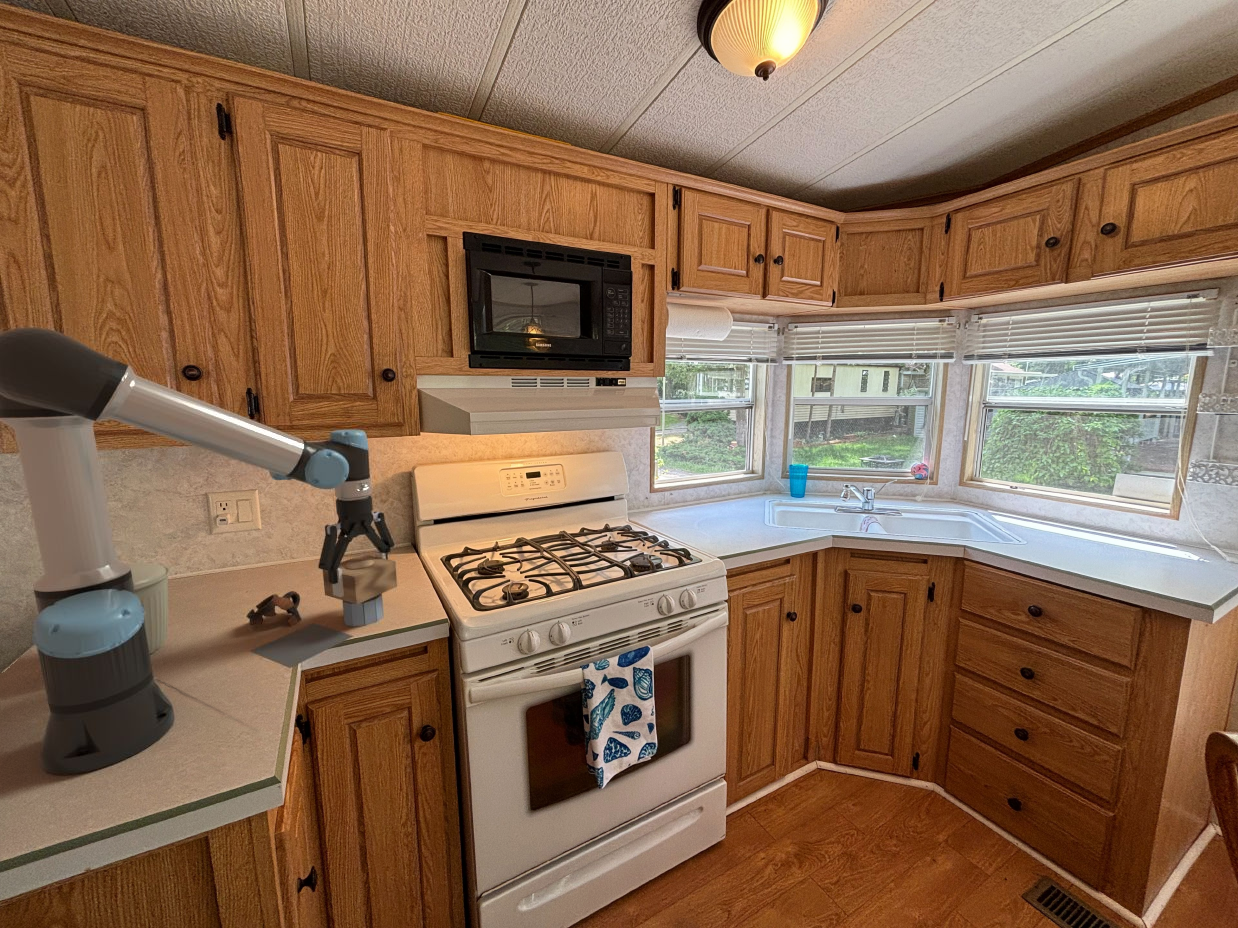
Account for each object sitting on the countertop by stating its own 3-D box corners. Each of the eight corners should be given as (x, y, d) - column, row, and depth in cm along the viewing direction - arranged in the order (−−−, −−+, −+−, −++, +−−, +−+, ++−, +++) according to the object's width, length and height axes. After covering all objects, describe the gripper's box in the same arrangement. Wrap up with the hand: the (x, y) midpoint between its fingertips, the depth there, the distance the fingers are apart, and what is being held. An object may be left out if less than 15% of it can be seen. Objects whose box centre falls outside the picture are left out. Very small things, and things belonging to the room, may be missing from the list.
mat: (290, 669, 102) (290, 667, 102) (249, 652, 108) (249, 650, 108) (353, 637, 114) (353, 635, 114) (313, 624, 120) (313, 622, 120)
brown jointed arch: (289, 636, 116) (263, 610, 113) (258, 649, 118) (232, 624, 115) (319, 601, 127) (296, 577, 124) (291, 614, 129) (268, 590, 126)
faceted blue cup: (361, 630, 117) (359, 606, 116) (336, 622, 121) (333, 599, 120) (391, 615, 125) (389, 592, 124) (367, 608, 128) (365, 586, 127)
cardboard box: (356, 604, 114) (354, 575, 113) (324, 595, 119) (322, 567, 118) (397, 586, 124) (395, 560, 123) (366, 578, 129) (364, 552, 127)
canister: (169, 663, 103) (154, 565, 100) (43, 690, 95) (21, 583, 91) (190, 626, 119) (177, 539, 115) (83, 645, 110) (66, 552, 107)
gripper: (315, 510, 106) (324, 609, 109) (406, 488, 126) (411, 572, 130) (292, 506, 109) (302, 602, 112) (385, 485, 130) (391, 567, 133)
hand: (361, 586), depth 121 cm, fingers closed on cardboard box, 11 cm apart
